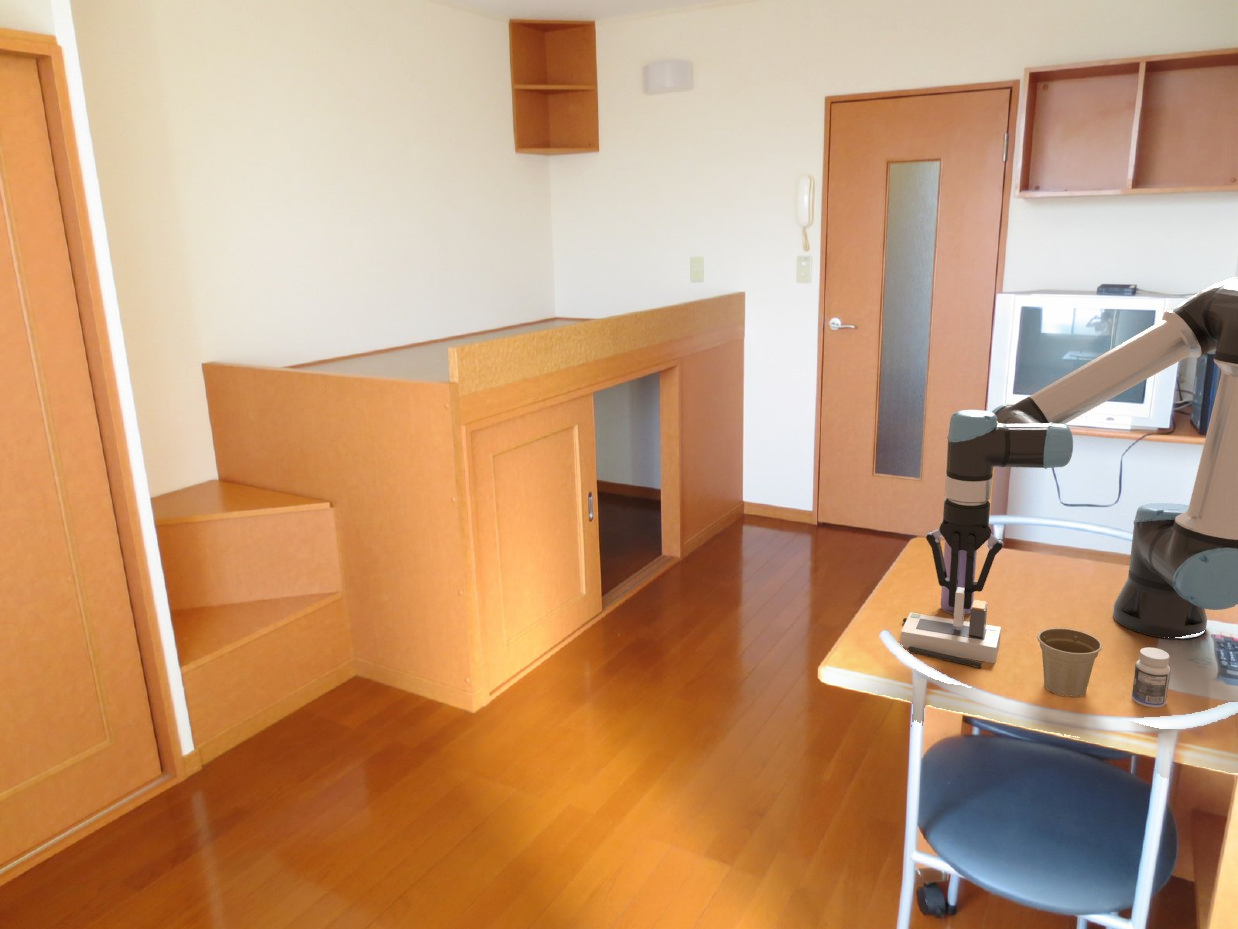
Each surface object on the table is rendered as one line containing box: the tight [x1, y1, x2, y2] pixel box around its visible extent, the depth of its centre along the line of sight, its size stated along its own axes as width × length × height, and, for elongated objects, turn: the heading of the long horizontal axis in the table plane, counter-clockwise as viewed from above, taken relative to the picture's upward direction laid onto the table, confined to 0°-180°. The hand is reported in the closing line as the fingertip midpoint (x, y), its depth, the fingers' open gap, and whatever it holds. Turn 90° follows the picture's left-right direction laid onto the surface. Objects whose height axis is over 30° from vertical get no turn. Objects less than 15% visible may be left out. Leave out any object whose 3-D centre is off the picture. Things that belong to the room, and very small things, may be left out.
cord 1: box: [907, 646, 983, 669], centre depth 156 cm, size 12×1×1 cm, turn 56°
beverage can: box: [940, 540, 978, 616], centre depth 174 cm, size 6×6×15 cm
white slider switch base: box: [900, 611, 1002, 664], centre depth 161 cm, size 16×9×3 cm, turn 62°
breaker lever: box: [969, 599, 989, 637], centre depth 158 cm, size 2×4×5 cm, turn 152°
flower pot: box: [1036, 627, 1103, 698], centre depth 144 cm, size 9×9×9 cm
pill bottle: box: [1131, 646, 1171, 709], centre depth 140 cm, size 5×5×8 cm
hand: (958, 623), depth 160 cm, fingers closed
